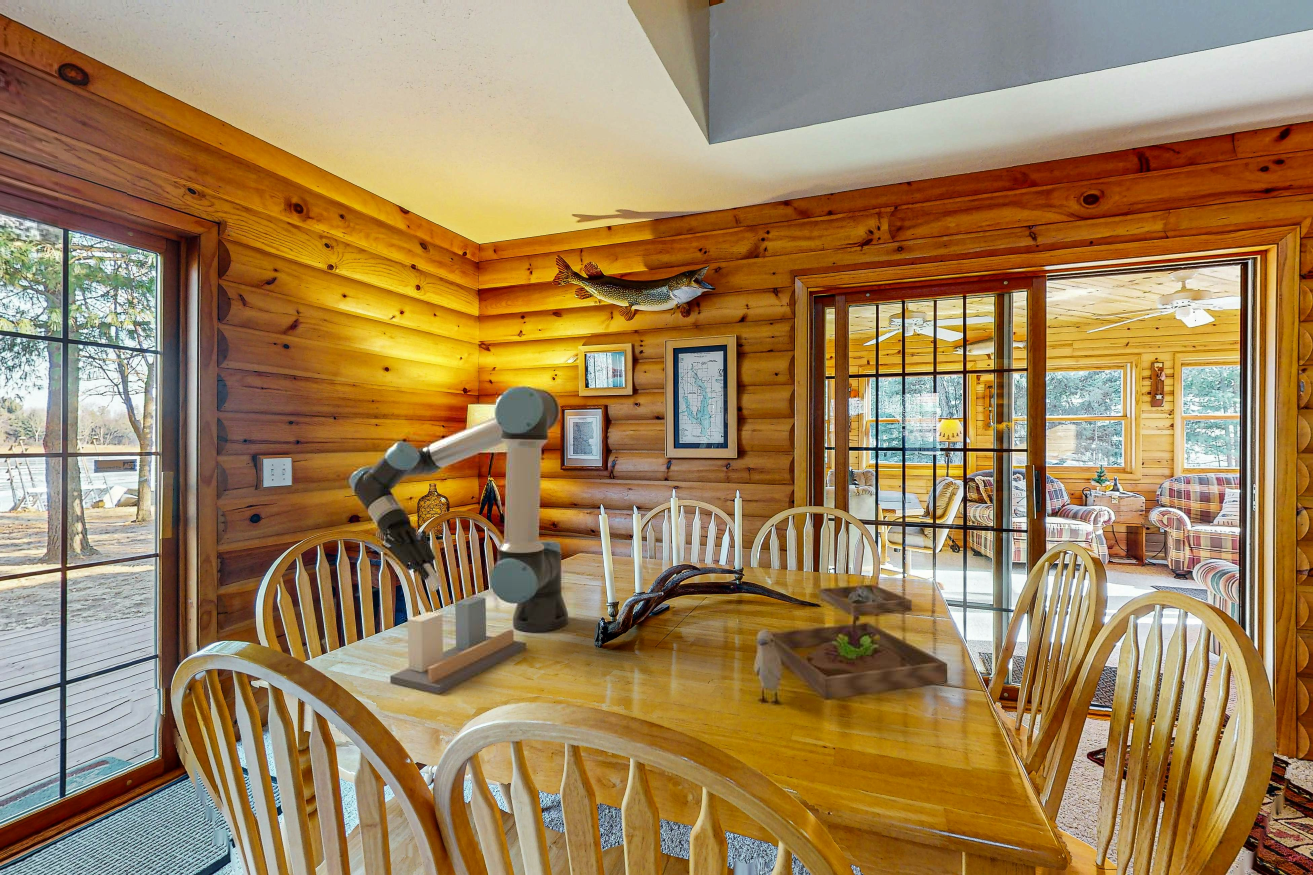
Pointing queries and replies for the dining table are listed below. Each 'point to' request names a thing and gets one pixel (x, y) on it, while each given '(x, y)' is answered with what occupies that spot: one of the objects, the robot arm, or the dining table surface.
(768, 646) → the bird
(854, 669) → the plant
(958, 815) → the dining table surface
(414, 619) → the beige tall block
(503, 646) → the grey stand base
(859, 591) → the fossilized seashell
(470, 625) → the grey tall block
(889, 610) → the frame
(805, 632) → the planter frame
